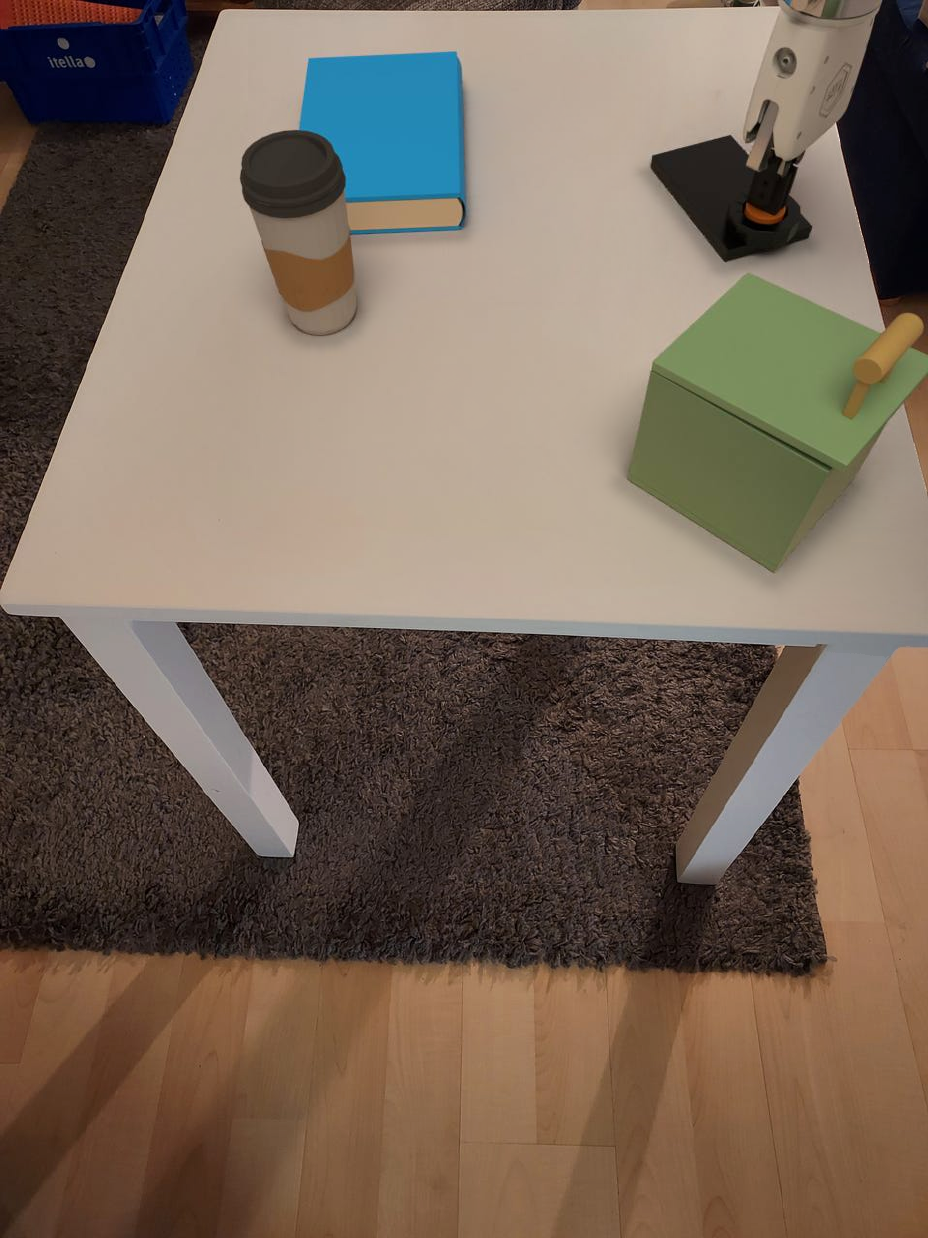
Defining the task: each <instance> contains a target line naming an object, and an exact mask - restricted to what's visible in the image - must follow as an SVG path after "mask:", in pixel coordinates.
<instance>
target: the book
mask: <svg viewBox="0 0 928 1238" xmlns="http://www.w3.org/2000/svg"><path fill="white" fill-rule="evenodd" d="M463 89H464V88H463V66H462V63H461V60H460V58H459V56H458V51H457V50H456V51H434V52H432V51H431V52H415V53H414V52H413V53H391V54H387V53H386V54H369V55H345V56H327V57H326V56H325V57H308V59H307V66H306V74H305V82H304V88H303V96H302V104H301V109H300V110H301V111H300V116H299V117H300V118H299V125H298V130H303V131H310V132H313V133H317V134H319V135H321V136H323V137H324V138H326V139H327V140H328V141H329V142H330V143H331V144H332V146H333V149H334V152H335V153H336V154H337V155H338V156H339V158H340V160H341V163H342V166H343V172H344V174H345V176H346V186H345V198H346V207H347V217H348V225H349V228H350V235H363V234H365V235H366V234H386V233H387V234H389V233H414V232H434V231H435V232H436V231H437V232H438V231H460V230H462V226H463V224H464V222H465V221H466V220H465V219H466V216H467V215H466V214H467V213H466V212H467V210H466V208H467V207H466V206H467V205H466V203H467V202H466V171H465V167H466V166H465V132H464V130H465V129H464V98H463V97H464V93H463V91H464V90H463Z"/></svg>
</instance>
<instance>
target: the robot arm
mask: <svg viewBox="0 0 928 1238" xmlns="http://www.w3.org/2000/svg"><path fill="white" fill-rule="evenodd" d="M882 2H883V0H777V5H778V6H779V8H780V10H779V12H778V15H777V17H776V20H775V23H774V25H773V28H772V31H771V34H770V36H769V39H768V43H767V45H766V49H765V51H764V55H763V57H762V61H761V63H760V66H759V70H758V74H757V76H756V80H755V83H754V86H753V89H752V93H751V97H750V100H749V104H748V108H747V112H746V115H745V121H744V125H743V130H742V139H743V142H744V143H745V144H748V145H749V144H752V142H753V144H752V147H751V149H750V152H749V154H748V155H749V157H748V160H747V163H746V167H748V168H750V169H752V170H754V171H755V173H754V176H753V180H752V183H751V187H750V191H749V194H748V198H747V202H748V204H750V205H752V206H754V207H756V208H758V209H760V210H762V211H765V212H767V213H769V214H771V215H776V214H777V213H778V212H779V211H780V210H781V209H782V208H784V207H785V206H786V203H787V200H788V197H789V195H790V194H791V191H792V188H793V186H794V182H795V179H796V176H797V173H798V170H799V167H798V165H800V163H801V161H802V160H803V158H804V157H805V153H806V151H807V149H809V148H810V147H811V146H812V145H813V144H814V143H815V142H816V141H818V140H819V139H820V138H821V137H822V136H823V135H825V133H827V132H828V131H829V130H830V129H831V128H832V127H833V126H834V125H836V123H838V121H839V120H840V119H841V118H842V117H843V116H844V114H845V113H846V111H847V109H848V106H849V104H850V101H851V99H852V98H851V97H852V94H853V92H854V89H855V86H856V83H857V79H858V77H859V73H860V70H861V67H862V63H863V60H864V58H865V54H866V51H867V47H868V44H869V40H870V38H871V33H872V30H873V26H874V23H875V18H876V15H877V14H878V12H879V11H880V9H881V5H882Z"/></svg>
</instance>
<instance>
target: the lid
mask: <svg viewBox="0 0 928 1238" xmlns="http://www.w3.org/2000/svg"><path fill="white" fill-rule="evenodd" d="M923 332H924V323H923V320H922V319H921V318H920V316H918V315H917V314H915V313H911V312H904V313H901V314H898V315H897V316H896V317H895V318H894V319H893V320H892V321H891V322H890V324H888V326H887V327H886V328H885V329H884V330H883V331H882V332H879V331H876V330H874V329H872V328H870V327H867V326H866V325H864V324H861V323H859V322H857V321H855V320H853V319H850V318H848V317H846V316H844V315H842V314H840V313H837V312H835V311H833V310H831V309H830V308H829V309H828V308H826V307H825V306H822V305H820V304H818V303H816V302H813V301H811V300H809V299H808V298H805V297H802V296H801V295H799V294H796V293H794V292H792V291H790V290H787V289H785V288H784V287H781V286H779V285H777V284H775V283H773V282H770V281H768V280H766V279H763V277H762V278H761V277H760V276H758V275H755V274H753V273H752V272H747V273H745V274H744V275H743V276H742V277H741V278H740V279H738V281H736V283H735V284H734V285H733V286H731V287H730V288H729V289H728V290H727V291H726V292H724V294H723V295H722V296H721V297H720V298H718V300H716V301H715V302H714V303H713V304H712V305H711V306H709V308H708V309H707V310H706V311H705V312H704V313H702V315H701V316H699V317H698V318H697V319H696V320H695V321H694V322H693V323H692V324H691V325H690V326H688V327H687V329H686V330H684V331H683V332H682V333H681V334H680V335H679V336H678V337H677V338H676V339H675V340H673V342H671V344H670V345H668V347H666V348H665V349H664V350H663V351H662V352H661V353H660V354H659V355H657V357H656V358H655V359H653V360H652V364H651V370H653V371H655V372H656V373H658V374H660V375H662V376H664V377H666V378H668V379H669V380H671V381H673V382H675V383H677V384H679V385H681V386H682V387H684V388H686V389H688V390H690V391H692V392H693V393H695V394H697V395H699V396H701V397H703V398H705V399H706V400H708V401H710V402H712V403H714V404H716V405H718V406H719V407H721V408H723V409H725V410H727V411H729V412H731V413H732V414H734V415H736V416H738V417H740V418H742V419H744V420H745V421H747V422H749V423H751V424H753V425H755V426H757V427H758V428H760V429H762V430H764V431H766V432H768V433H770V434H771V435H773V436H775V437H777V438H779V439H781V440H782V441H784V442H786V443H788V444H790V445H792V446H794V447H795V448H797V449H799V450H801V451H803V452H805V453H807V454H808V455H810V456H812V457H814V458H816V459H818V460H820V461H821V462H823V463H825V464H827V465H829V466H831V467H833V468H834V469H836V470H838V471H840V472H842V473H844V472H845V471H846V470H847V469H848V467H849V466H850V465H851V464H852V463H853V462H854V460H855V459H856V458H857V457H858V456H859V455H860V453H861V452H862V451H863V450H864V449H865V448H866V446H867V445H868V444H869V443H870V442H871V441H872V439H873V438H874V437H875V436H876V435H877V434H878V432H879V431H880V430H881V429H882V428H883V427H884V425H885V424H886V423H888V422H889V421H890V420H891V419H892V417H894V415H895V414H896V413H897V412H898V410H900V408H901V407H902V406H903V405H904V403H906V401H907V400H908V399H909V398H910V396H911V395H912V394H913V393H914V392H915V391H916V390H917V388H918V387H919V386H920V385H921V384H922V383H923V381H924V380H925V379H926V378H927V377H928V354H927V353H924V352H922V351H920V350H917V349H915V348H913V347H912V346H913V345H914V343H915V342H916V341H917V340H918V339H919V338H920V336H922V334H923ZM886 425H887V424H886ZM886 425H885V426H886ZM884 428H885V427H884Z"/></svg>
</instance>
